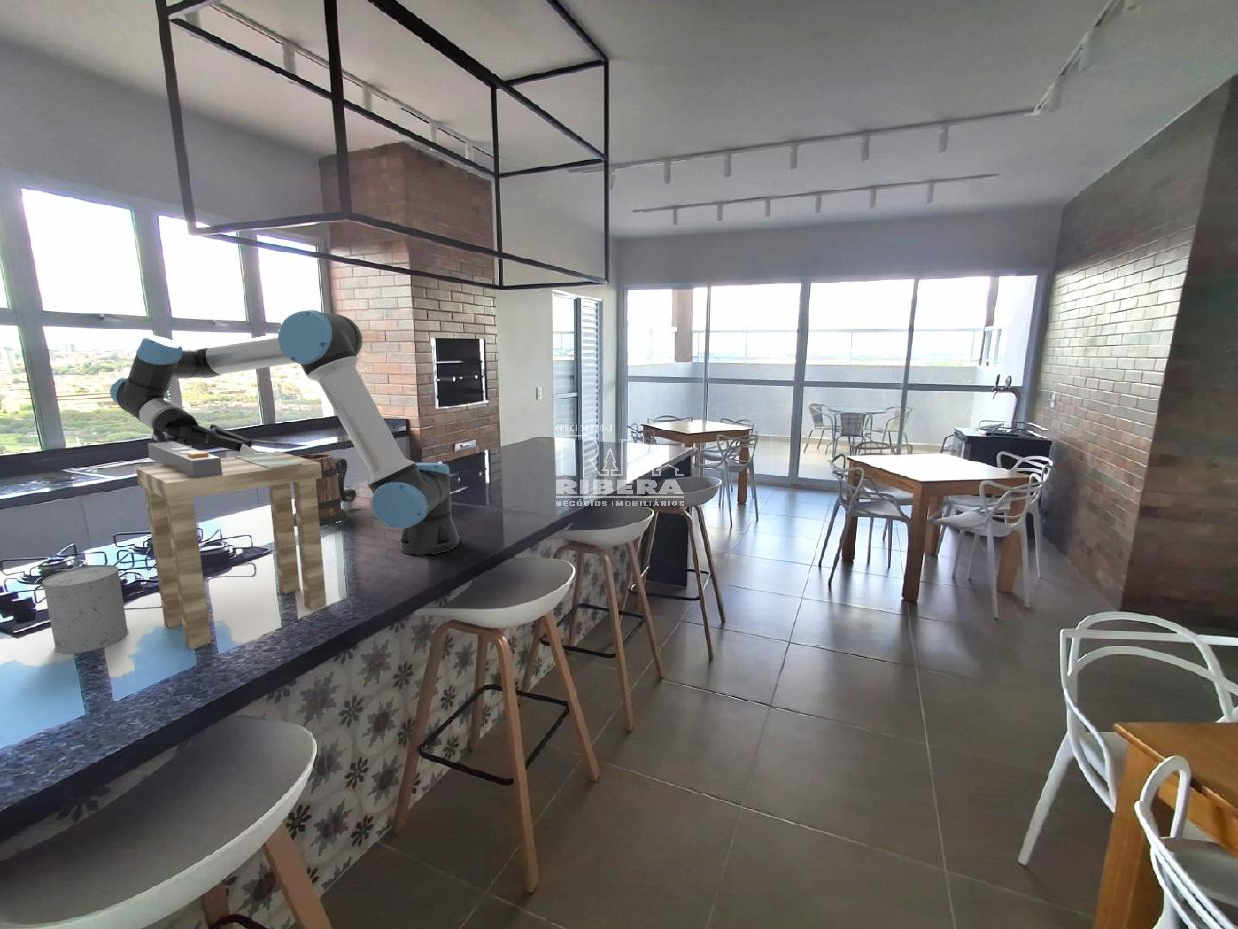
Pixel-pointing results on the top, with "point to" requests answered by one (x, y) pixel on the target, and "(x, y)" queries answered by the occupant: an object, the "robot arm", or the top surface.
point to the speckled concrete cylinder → (85, 608)
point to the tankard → (330, 489)
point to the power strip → (185, 459)
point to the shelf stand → (179, 535)
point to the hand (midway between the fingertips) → (233, 467)
